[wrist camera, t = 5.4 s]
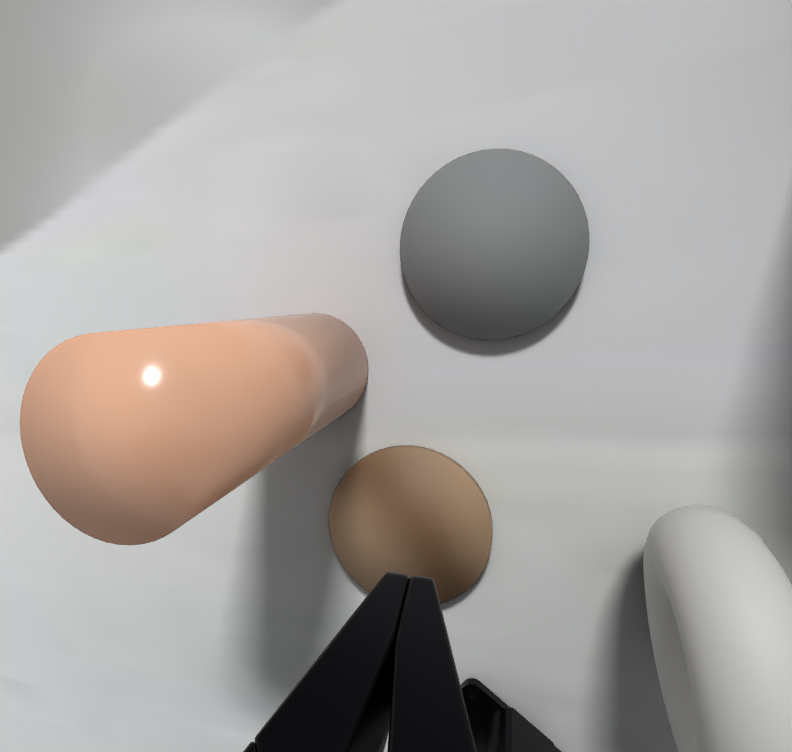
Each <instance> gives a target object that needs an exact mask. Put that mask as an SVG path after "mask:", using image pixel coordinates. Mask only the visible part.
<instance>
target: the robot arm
mask: <svg viewBox="0 0 792 752" xmlns="http://www.w3.org/2000/svg"><path fill="white" fill-rule="evenodd" d="M470 689H474V690H476V691H477V692H476V693H472V692H470V691H469V690H470ZM388 732H389V740H388V752H561V751H560V750H559V749H557V748H556V747H555V746H554V744H553V742H552V741H551V740H550V739H548V738H547V737H546V736H545V735H544V734H543V733H541V732H540V731H539V730H538V729H537V728H536V727H534V726H533V725H532V724H531V723H530V722H529V721H528V720H526V719H525V718H524V717H523V716H522V715H521V714H519V713H518V712H517V711H516V710H515V709H514V708H511V707H509V706H508V705H507V704H505V703H504V702H503V701H502V700H501V699H500V698H499V697H497V696H496V695H495V694H494V693H493V692H492V691H490V690H489V689H488V688H487V687H486V686H485V685H483V684H482V683H481V682H480V681H478V680H477V679H473V678H470V679H467V680H465V681H464V682H463V683H462V684H461V685H460V682H459V678H458V674H457V670H456V666H455V662H454V658H453V654H452V650H451V646H450V642H449V638H448V634H447V630H446V626H445V622H444V618H443V613H442V609H441V605H440V601H439V597H438V593H437V589H436V585H435V582H434V580H433V579H432V578H429V577H422V576H416V575H414V576H411V578H410V577H409V576H408V575H407V574H402V573H396V572H387V573H386V574H384V576H383V577H382V578H381V579H380V580H379V582H378V583H377V584H376V586H375V587H374V588H373V589H372V591H371V592H370V593H369V594H368V596H367V597H366V598H365V599H364V601H363V602H362V603H361V604H360V606H359V607H358V608H357V609H356V611H355V612H354V613H353V614H352V616H351V617H350V618H349V620H348V621H347V622H346V623H345V625H344V626H343V627H342V628H341V630H340V631H339V632H338V633H337V635H336V636H335V637H334V638H333V640H332V641H331V642H330V643H329V645H328V646H327V647H326V649H325V650H324V651H323V652H322V654H321V655H320V656H319V657H318V659H317V660H316V661H315V662H314V664H313V665H312V666H311V667H310V669H309V670H308V671H307V672H306V674H305V675H304V676H303V677H302V679H301V680H300V681H299V683H298V684H297V685H296V686H295V688H294V689H293V690H292V691H291V693H290V694H289V695H288V696H287V698H286V699H285V700H284V701H283V703H282V704H281V705H280V706H279V708H278V709H277V710H276V712H275V713H274V714H273V715H272V717H271V718H270V719H269V720H268V722H267V723H266V724H265V725H264V727H263V728H262V729H261V730H260V732H259V733H258V734H257V735H256V737H255V742H251V743H250V744H249V745H248V746H247V748H246V749H245V750H244V751H243V752H383V751H384V747H385V744H386V740H387V736H388Z"/></svg>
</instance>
